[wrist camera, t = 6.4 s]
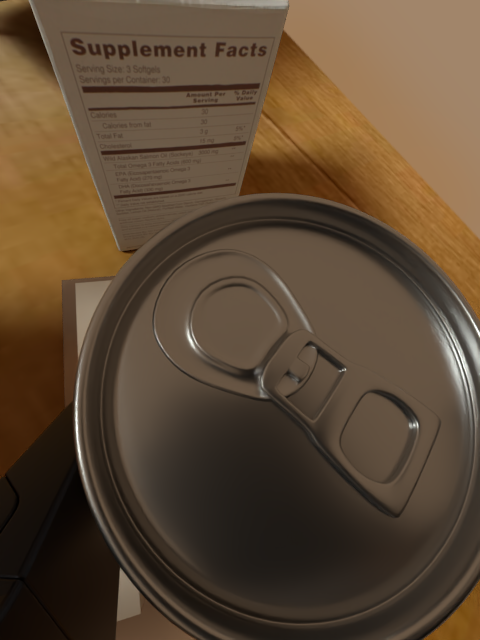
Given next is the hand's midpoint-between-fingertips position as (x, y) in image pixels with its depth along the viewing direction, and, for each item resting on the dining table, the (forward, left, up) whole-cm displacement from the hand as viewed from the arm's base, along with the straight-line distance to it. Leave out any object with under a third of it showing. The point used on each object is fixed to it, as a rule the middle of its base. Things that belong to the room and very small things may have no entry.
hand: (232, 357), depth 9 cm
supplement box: (+13, +1, -9) cm, 16 cm away
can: (-1, 0, -7) cm, 7 cm away
